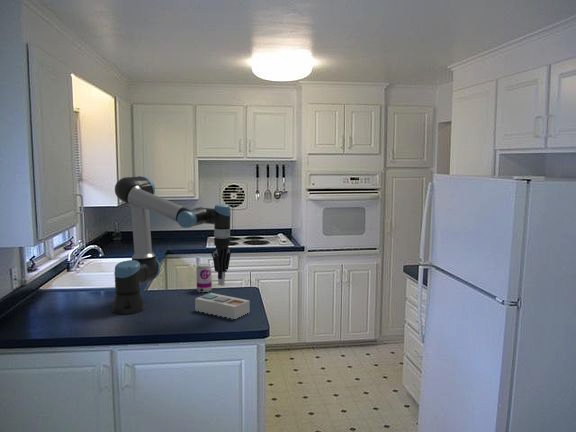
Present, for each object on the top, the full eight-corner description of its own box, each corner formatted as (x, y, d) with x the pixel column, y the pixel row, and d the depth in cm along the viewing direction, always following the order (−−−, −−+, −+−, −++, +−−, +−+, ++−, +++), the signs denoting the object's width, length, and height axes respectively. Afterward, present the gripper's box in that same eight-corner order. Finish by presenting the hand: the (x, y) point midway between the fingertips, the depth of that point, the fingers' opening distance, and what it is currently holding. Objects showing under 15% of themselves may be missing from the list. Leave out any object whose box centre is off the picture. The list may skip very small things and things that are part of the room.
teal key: (210, 306, 236) (210, 298, 235) (201, 304, 238) (201, 296, 238) (217, 303, 240) (217, 295, 240) (208, 301, 243) (208, 293, 243)
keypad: (234, 319, 225) (234, 307, 224) (195, 310, 237) (195, 298, 236) (249, 312, 235) (249, 300, 234) (211, 304, 247) (211, 292, 246)
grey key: (223, 309, 232) (223, 301, 231) (214, 307, 234) (214, 299, 234) (230, 306, 236) (230, 298, 236) (221, 304, 239) (221, 296, 239)
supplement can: (212, 292, 268) (212, 266, 266) (197, 293, 266) (197, 267, 264) (210, 288, 276) (210, 263, 274) (196, 289, 274) (195, 263, 272)
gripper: (219, 239, 224) (218, 289, 227) (236, 236, 235) (235, 283, 238) (207, 238, 227) (206, 286, 230) (224, 234, 238) (223, 280, 242)
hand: (221, 284), depth 234 cm, fingers closed
